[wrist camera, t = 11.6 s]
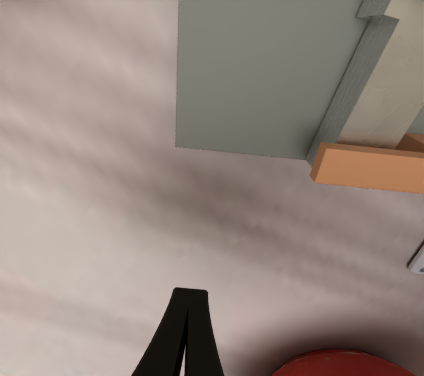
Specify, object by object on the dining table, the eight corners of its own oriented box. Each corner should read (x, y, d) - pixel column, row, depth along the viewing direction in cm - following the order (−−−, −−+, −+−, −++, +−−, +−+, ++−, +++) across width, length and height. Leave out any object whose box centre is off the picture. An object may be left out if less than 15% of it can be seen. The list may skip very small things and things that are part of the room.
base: (546, -119, 11) (817, -244, 6) (399, 163, 17) (467, 214, 13) (186, -164, 10) (154, -336, 6) (177, 140, 17) (160, 184, 12)
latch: (414, -114, 10) (465, -153, 8) (511, -79, 10) (585, -107, 8) (294, 155, 16) (305, 174, 14) (359, 171, 17) (379, 192, 14)
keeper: (427, 134, 15) (497, 170, 11) (412, 161, 16) (472, 203, 12) (302, 121, 15) (330, 152, 11) (294, 149, 16) (317, 188, 12)
